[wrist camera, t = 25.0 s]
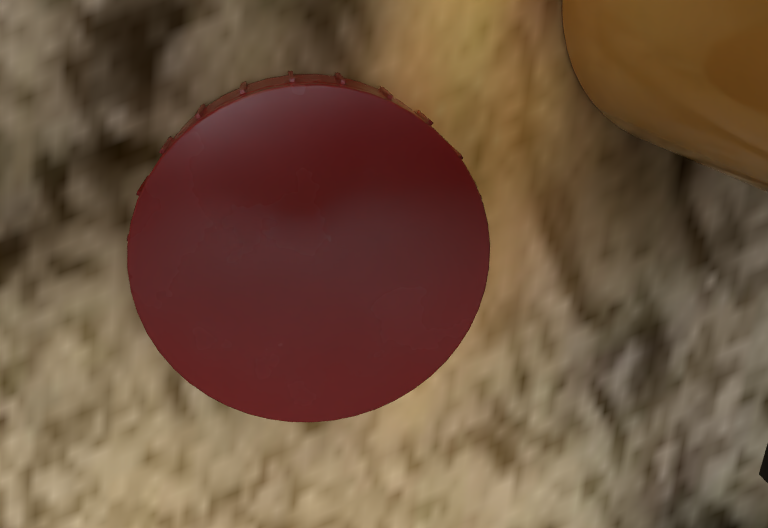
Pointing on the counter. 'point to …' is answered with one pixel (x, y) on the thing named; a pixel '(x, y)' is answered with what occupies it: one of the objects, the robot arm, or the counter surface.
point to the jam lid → (307, 249)
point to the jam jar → (679, 75)
